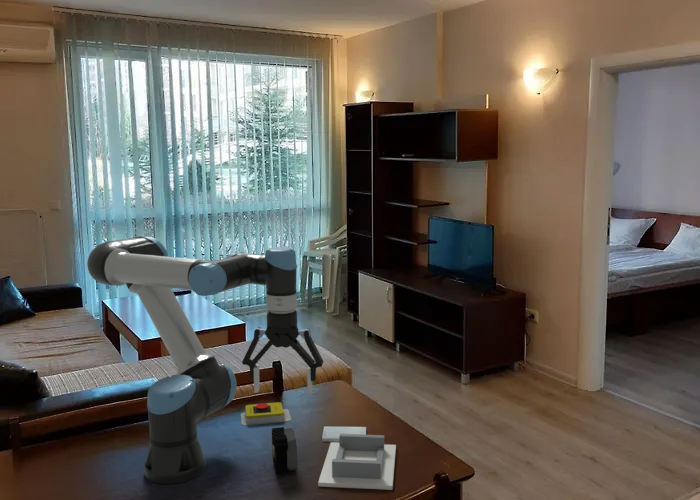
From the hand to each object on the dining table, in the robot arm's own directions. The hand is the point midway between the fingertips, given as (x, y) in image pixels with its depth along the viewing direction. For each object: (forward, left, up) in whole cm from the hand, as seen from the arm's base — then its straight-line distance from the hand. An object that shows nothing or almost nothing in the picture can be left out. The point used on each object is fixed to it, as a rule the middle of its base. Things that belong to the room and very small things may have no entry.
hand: (283, 392), depth 160 cm
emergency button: (-13, +31, -21) cm, 40 cm away
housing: (+19, +3, -21) cm, 28 cm away
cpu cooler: (0, 0, -21) cm, 21 cm away
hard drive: (+13, +21, -21) cm, 32 cm away
